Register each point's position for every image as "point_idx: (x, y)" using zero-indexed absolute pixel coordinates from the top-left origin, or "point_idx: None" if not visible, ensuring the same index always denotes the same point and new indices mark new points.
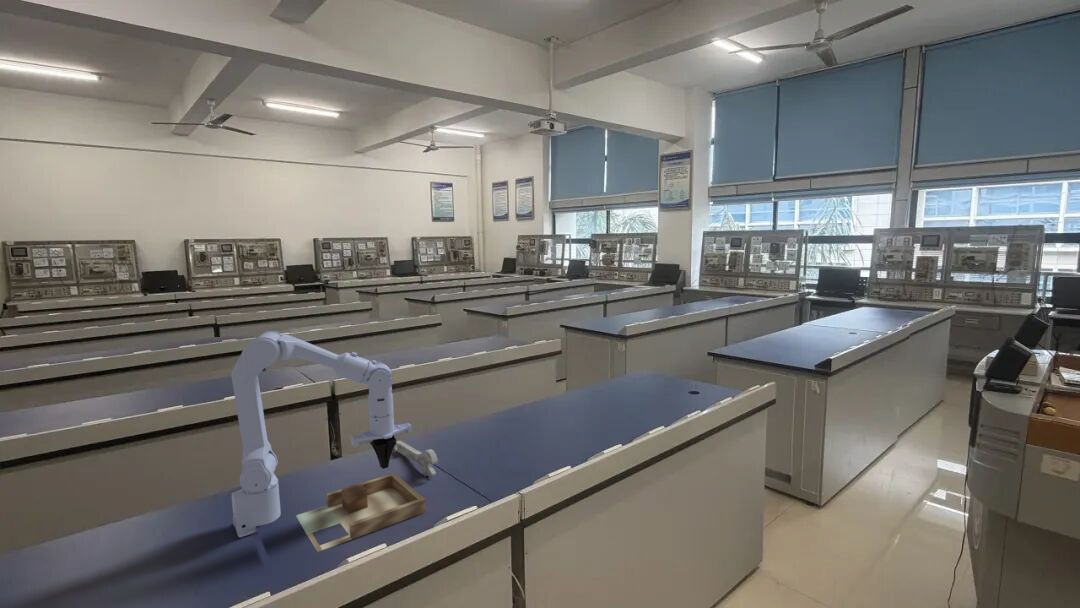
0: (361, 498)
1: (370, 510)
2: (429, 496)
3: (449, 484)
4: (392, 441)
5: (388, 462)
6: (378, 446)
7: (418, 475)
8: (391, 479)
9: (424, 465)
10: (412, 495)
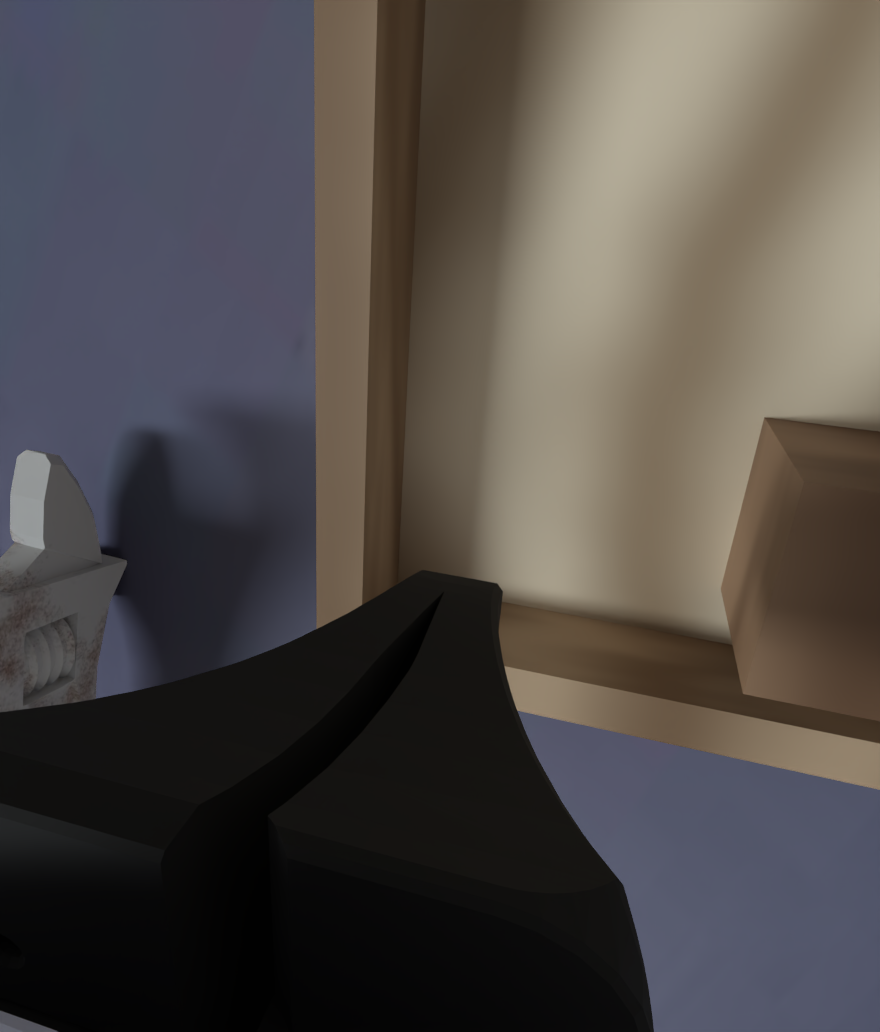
0: (859, 463)
1: (785, 336)
2: (208, 244)
3: (8, 309)
4: (2, 798)
5: (393, 590)
6: (575, 914)
7: (156, 620)
8: None
9: (54, 611)
10: (382, 51)
